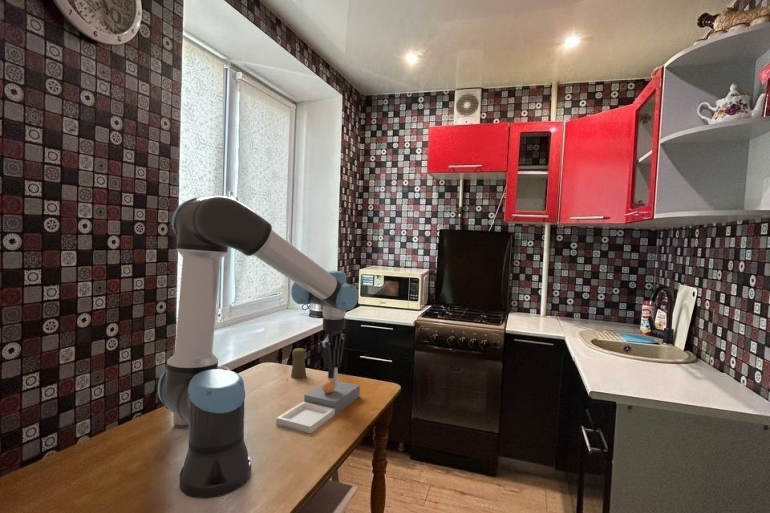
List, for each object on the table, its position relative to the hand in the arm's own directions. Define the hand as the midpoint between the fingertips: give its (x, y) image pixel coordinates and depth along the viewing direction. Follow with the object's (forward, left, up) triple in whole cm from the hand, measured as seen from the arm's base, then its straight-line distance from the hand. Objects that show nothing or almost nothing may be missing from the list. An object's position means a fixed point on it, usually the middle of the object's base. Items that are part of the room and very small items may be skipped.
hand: (332, 386), depth 136 cm
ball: (-3, 0, +1) cm, 3 cm away
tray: (-15, 0, -5) cm, 16 cm away
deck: (0, 0, -5) cm, 5 cm away
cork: (+15, +25, -6) cm, 30 cm away
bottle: (-34, +29, -6) cm, 45 cm away
